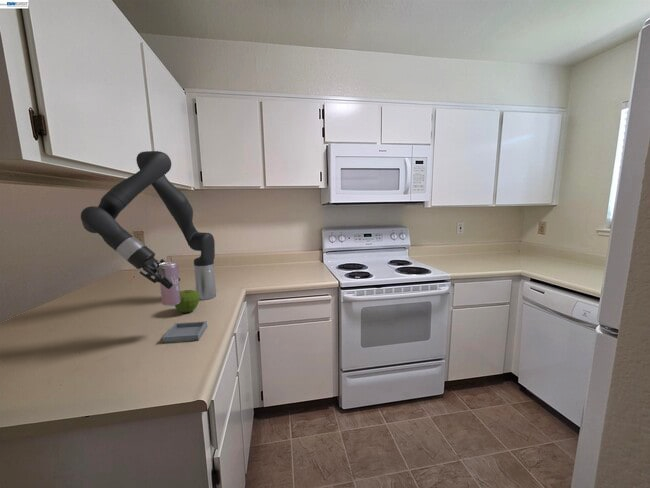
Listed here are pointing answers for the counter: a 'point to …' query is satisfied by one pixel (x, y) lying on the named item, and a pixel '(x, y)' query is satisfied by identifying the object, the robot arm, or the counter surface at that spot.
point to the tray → (185, 332)
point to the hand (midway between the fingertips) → (174, 284)
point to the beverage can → (171, 273)
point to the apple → (188, 301)
